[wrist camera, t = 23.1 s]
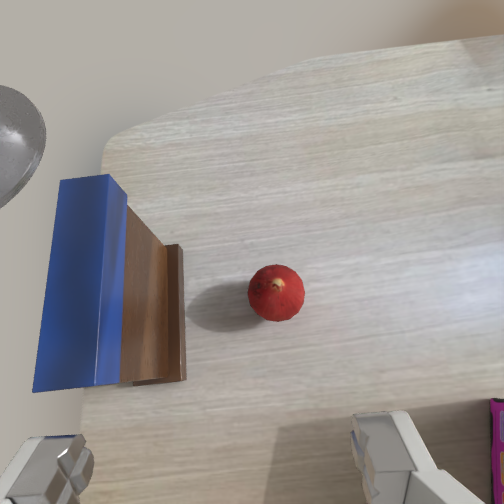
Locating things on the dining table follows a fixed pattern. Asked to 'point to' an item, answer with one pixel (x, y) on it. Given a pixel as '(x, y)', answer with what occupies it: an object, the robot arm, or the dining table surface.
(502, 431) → the candy bar box
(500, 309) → the dining table surface
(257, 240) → the dining table surface
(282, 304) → the red pomegranate
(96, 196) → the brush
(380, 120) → the dining table surface
